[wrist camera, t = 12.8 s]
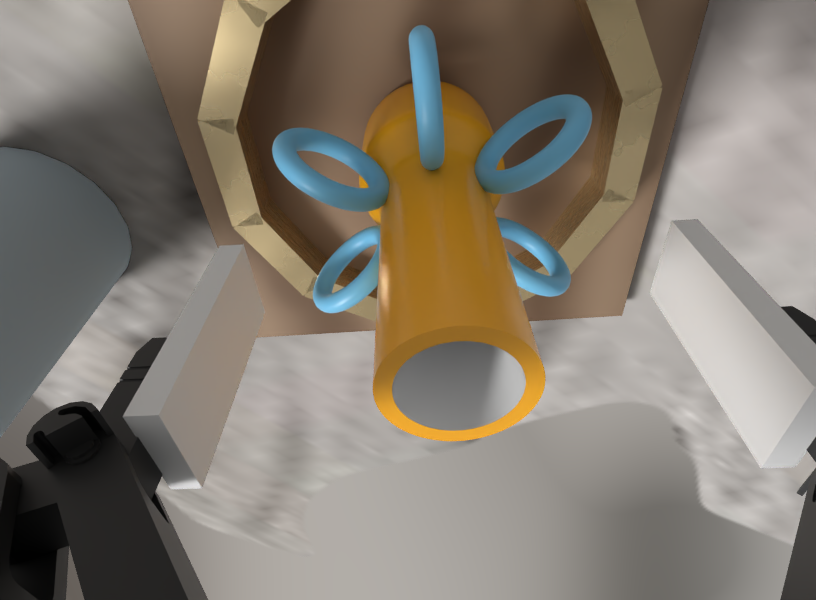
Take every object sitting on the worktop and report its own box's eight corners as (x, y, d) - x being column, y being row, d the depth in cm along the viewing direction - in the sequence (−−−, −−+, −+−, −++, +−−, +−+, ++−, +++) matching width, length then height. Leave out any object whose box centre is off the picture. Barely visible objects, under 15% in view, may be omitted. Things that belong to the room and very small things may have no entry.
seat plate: (751, -223, 17) (772, -231, 16) (615, 303, 31) (622, 315, 30) (84, -165, 17) (66, -169, 16) (254, 325, 32) (250, 337, 31)
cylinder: (283, 11, 20) (115, 167, 8) (546, -23, 19) (784, 90, 7) (341, 262, 27) (300, 531, 16) (531, 243, 27) (636, 506, 15)
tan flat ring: (690, -141, 17) (720, -146, 15) (594, 291, 29) (606, 313, 27) (149, -96, 17) (125, -97, 16) (274, 311, 29) (267, 334, 28)
